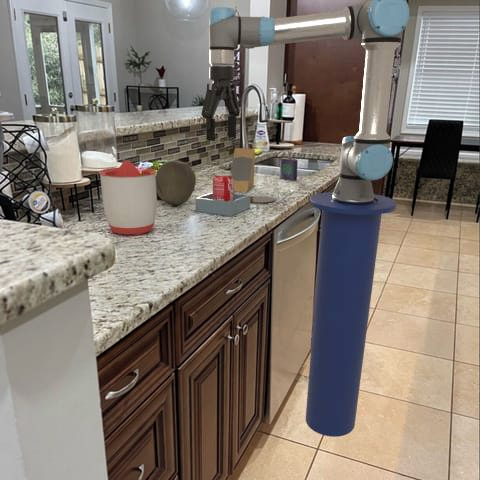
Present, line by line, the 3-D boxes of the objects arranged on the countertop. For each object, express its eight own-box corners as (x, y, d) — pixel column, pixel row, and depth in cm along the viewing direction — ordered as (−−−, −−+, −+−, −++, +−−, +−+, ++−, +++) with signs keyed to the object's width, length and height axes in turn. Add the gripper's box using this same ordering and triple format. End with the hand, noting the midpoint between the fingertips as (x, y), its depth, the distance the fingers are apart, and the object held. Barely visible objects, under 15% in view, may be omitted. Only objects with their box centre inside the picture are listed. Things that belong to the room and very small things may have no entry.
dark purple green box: (278, 178, 229) (279, 154, 224) (282, 177, 231) (283, 153, 226) (294, 181, 223) (296, 156, 219) (298, 180, 225) (300, 155, 221)
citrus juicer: (169, 224, 153) (166, 156, 145) (146, 239, 137) (142, 165, 129) (121, 220, 156) (116, 154, 148) (94, 235, 140) (86, 162, 133)
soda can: (231, 207, 175) (231, 171, 170) (235, 211, 169) (235, 175, 164) (211, 207, 174) (211, 172, 169) (214, 212, 167) (213, 175, 163)
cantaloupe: (196, 209, 171) (195, 164, 165) (154, 209, 170) (151, 164, 164) (196, 200, 184) (195, 158, 178) (157, 200, 183) (155, 158, 177)
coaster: (279, 199, 188) (279, 198, 188) (266, 204, 179) (266, 203, 179) (253, 195, 192) (253, 194, 192) (239, 201, 184) (239, 200, 183)
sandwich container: (226, 191, 200) (226, 152, 194) (234, 184, 214) (234, 147, 208) (247, 192, 199) (247, 153, 193) (254, 185, 212) (254, 148, 206)
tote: (249, 208, 174) (250, 195, 172) (230, 216, 163) (230, 202, 161) (216, 203, 180) (216, 190, 178) (195, 211, 169) (195, 197, 167)
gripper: (230, 67, 165) (230, 135, 173) (188, 64, 144) (190, 141, 153) (251, 67, 162) (249, 136, 170) (211, 64, 141) (211, 143, 150)
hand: (221, 138), depth 161 cm, fingers open, 13 cm apart
